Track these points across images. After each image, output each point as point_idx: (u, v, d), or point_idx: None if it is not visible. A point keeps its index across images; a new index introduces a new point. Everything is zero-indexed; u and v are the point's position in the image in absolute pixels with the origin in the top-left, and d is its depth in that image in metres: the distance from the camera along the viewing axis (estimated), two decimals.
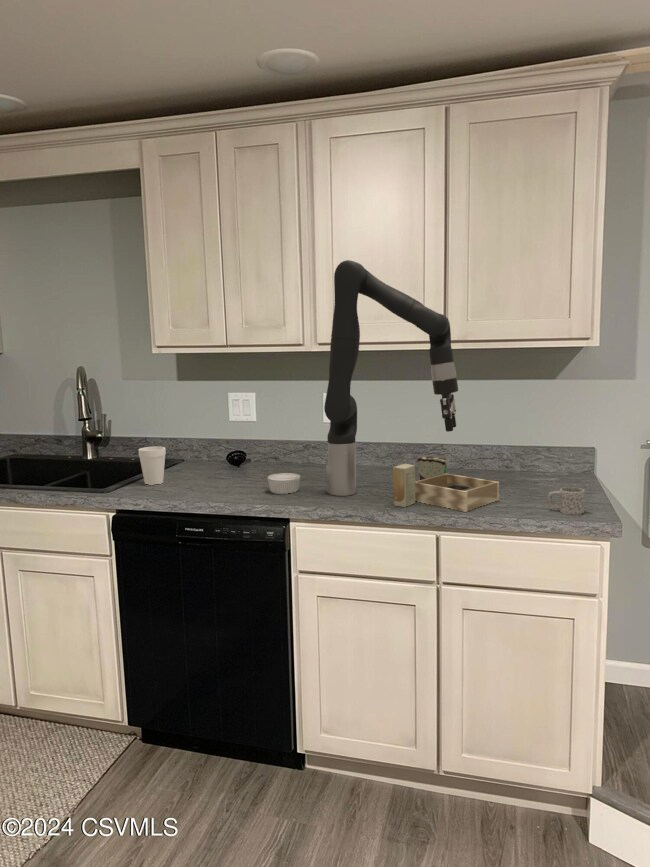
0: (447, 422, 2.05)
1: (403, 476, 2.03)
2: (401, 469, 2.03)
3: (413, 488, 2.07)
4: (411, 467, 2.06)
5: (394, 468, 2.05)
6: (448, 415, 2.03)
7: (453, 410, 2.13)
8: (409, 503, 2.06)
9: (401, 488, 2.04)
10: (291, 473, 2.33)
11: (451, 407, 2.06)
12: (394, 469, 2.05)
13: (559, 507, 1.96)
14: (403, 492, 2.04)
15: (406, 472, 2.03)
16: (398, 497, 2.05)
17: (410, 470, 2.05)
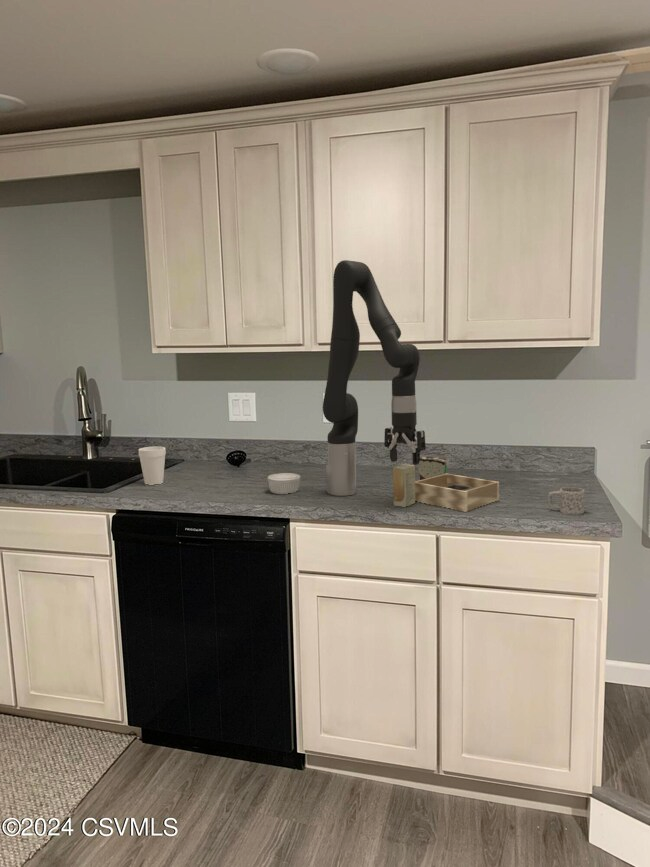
0: (417, 455, 2.02)
1: (403, 476, 2.03)
2: (401, 469, 2.03)
3: (413, 488, 2.07)
4: (411, 467, 2.06)
5: (394, 468, 2.05)
6: (424, 448, 2.01)
7: (398, 443, 2.08)
8: (409, 503, 2.06)
9: (401, 488, 2.04)
10: (291, 473, 2.33)
11: (416, 440, 2.04)
12: (394, 469, 2.05)
13: (559, 507, 1.96)
14: (403, 492, 2.04)
15: (406, 472, 2.03)
16: (398, 497, 2.05)
17: (410, 470, 2.05)
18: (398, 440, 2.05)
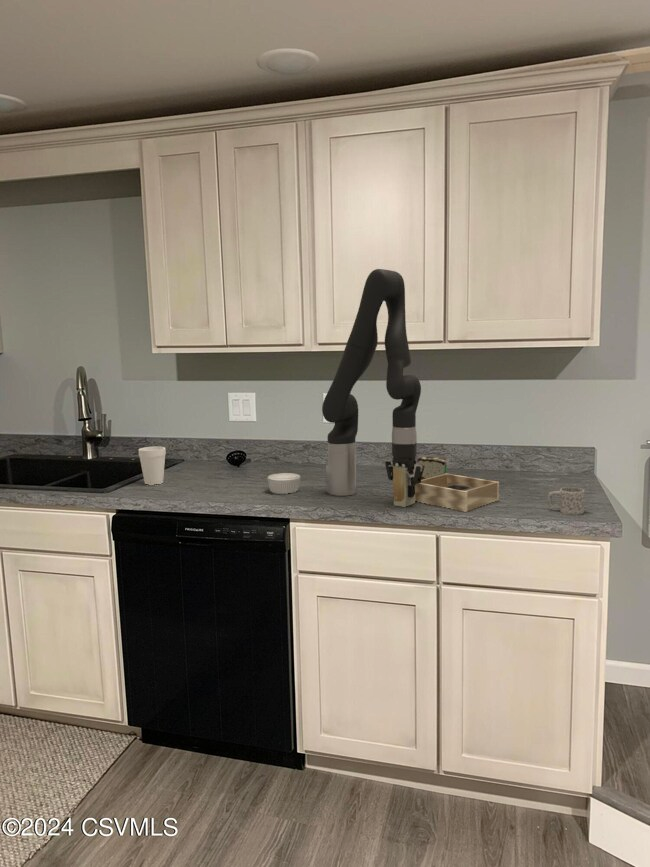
0: (413, 488, 2.04)
1: (403, 476, 2.03)
2: (401, 469, 2.03)
3: None
4: None
5: (394, 468, 2.05)
6: (419, 481, 2.03)
7: None
8: (409, 503, 2.06)
9: (401, 488, 2.04)
10: (291, 473, 2.33)
11: (414, 472, 2.05)
12: (394, 469, 2.05)
13: (559, 507, 1.96)
14: (403, 492, 2.04)
15: (406, 471, 2.03)
16: (398, 497, 2.05)
17: None
18: None
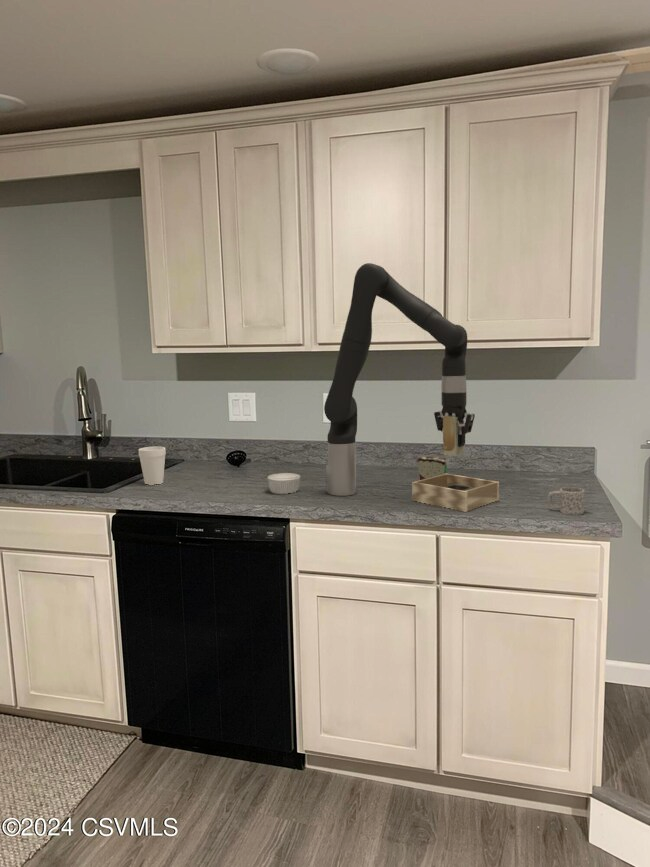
0: (463, 437, 2.05)
1: (453, 425, 2.04)
2: (451, 418, 2.04)
3: None
4: None
5: (444, 417, 2.05)
6: (469, 430, 2.04)
7: None
8: (459, 452, 2.07)
9: (451, 437, 2.05)
10: (291, 473, 2.33)
11: (464, 422, 2.06)
12: (444, 418, 2.05)
13: (559, 507, 1.96)
14: (454, 441, 2.04)
15: (456, 420, 2.04)
16: (448, 447, 2.06)
17: None
18: None
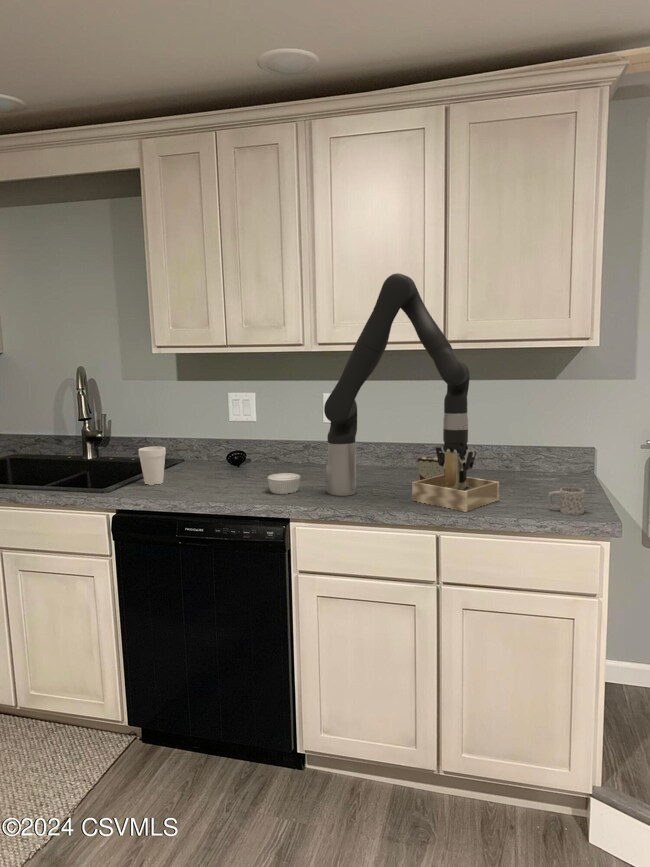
0: (464, 473, 2.07)
1: (455, 462, 2.06)
2: (453, 454, 2.06)
3: None
4: None
5: (446, 454, 2.07)
6: (471, 466, 2.06)
7: None
8: (460, 488, 2.09)
9: (453, 473, 2.07)
10: (291, 473, 2.33)
11: (465, 458, 2.08)
12: (446, 455, 2.07)
13: (559, 507, 1.96)
14: (455, 477, 2.06)
15: (458, 457, 2.06)
16: (450, 483, 2.08)
17: None
18: None
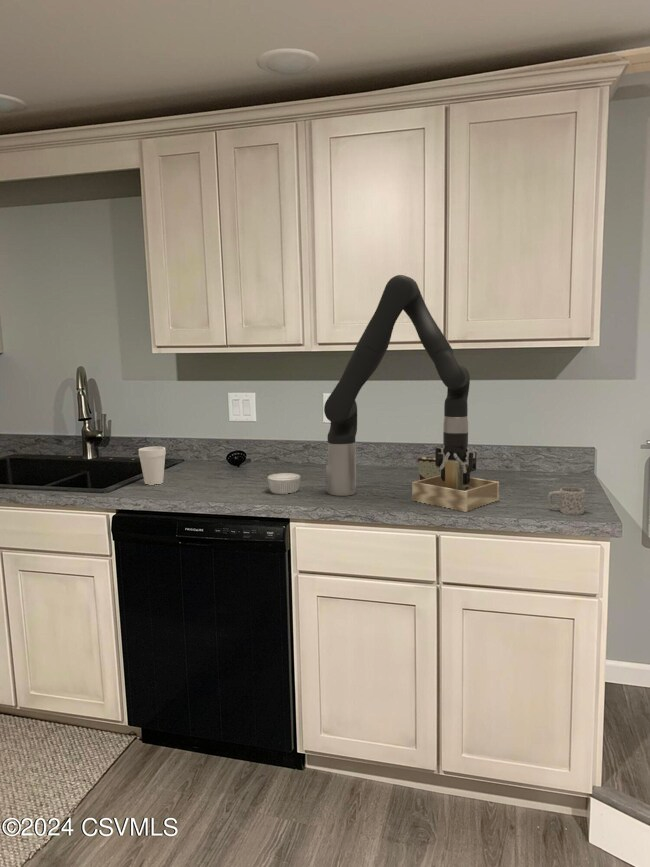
0: (468, 475, 2.06)
1: (455, 470, 2.06)
2: (453, 463, 2.06)
3: None
4: (463, 461, 2.08)
5: (446, 461, 2.08)
6: (475, 468, 2.05)
7: None
8: None
9: (453, 481, 2.07)
10: (291, 473, 2.33)
11: (466, 460, 2.08)
12: (446, 462, 2.08)
13: (559, 507, 1.96)
14: (455, 486, 2.07)
15: (458, 465, 2.06)
16: None
17: None
18: (449, 459, 2.09)
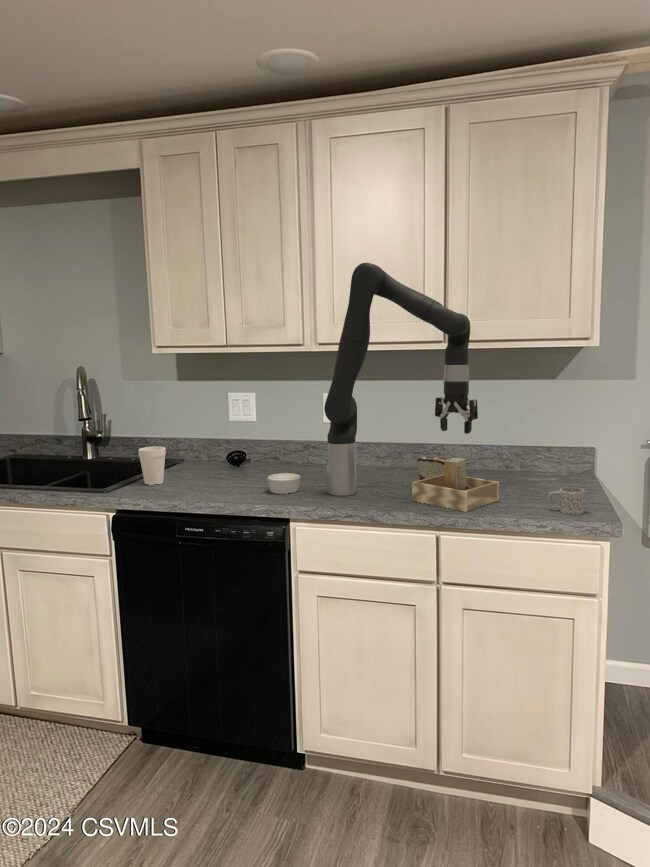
0: (469, 424, 2.04)
1: (454, 470, 2.06)
2: (452, 463, 2.06)
3: (464, 482, 2.10)
4: (462, 461, 2.08)
5: (445, 462, 2.08)
6: (476, 417, 2.03)
7: (449, 413, 2.10)
8: None
9: (452, 481, 2.07)
10: (291, 473, 2.33)
11: (467, 409, 2.05)
12: (445, 463, 2.08)
13: (559, 507, 1.96)
14: (455, 485, 2.07)
15: (457, 465, 2.06)
16: None
17: (461, 464, 2.08)
18: (449, 409, 2.07)
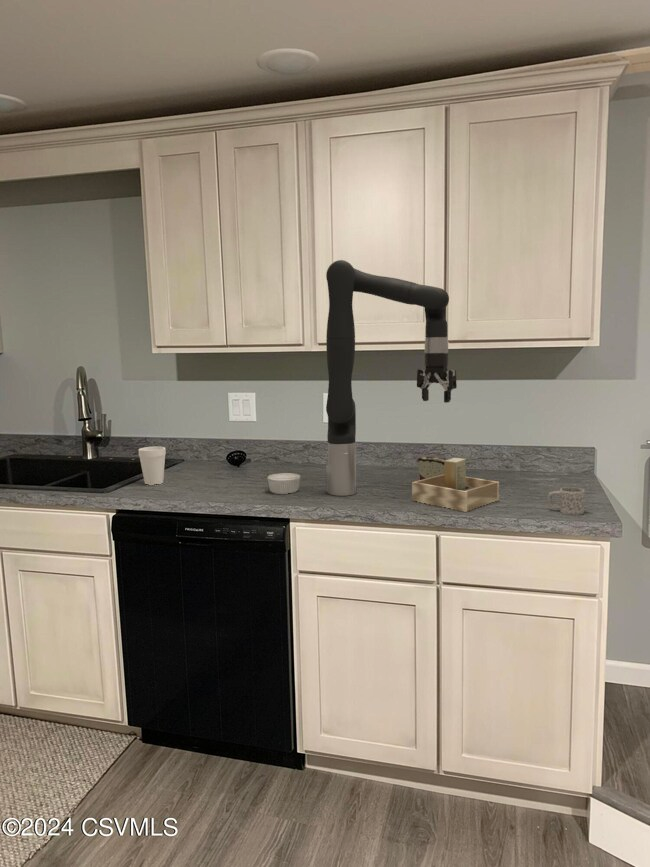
0: (449, 393, 2.15)
1: (454, 470, 2.06)
2: (452, 463, 2.06)
3: (464, 482, 2.10)
4: (462, 461, 2.08)
5: (445, 462, 2.08)
6: (455, 386, 2.14)
7: (430, 384, 2.22)
8: None
9: (452, 481, 2.07)
10: (291, 473, 2.33)
11: (447, 379, 2.17)
12: (445, 463, 2.08)
13: (559, 507, 1.96)
14: (455, 485, 2.07)
15: (458, 465, 2.06)
16: None
17: (461, 464, 2.08)
18: (430, 380, 2.19)
